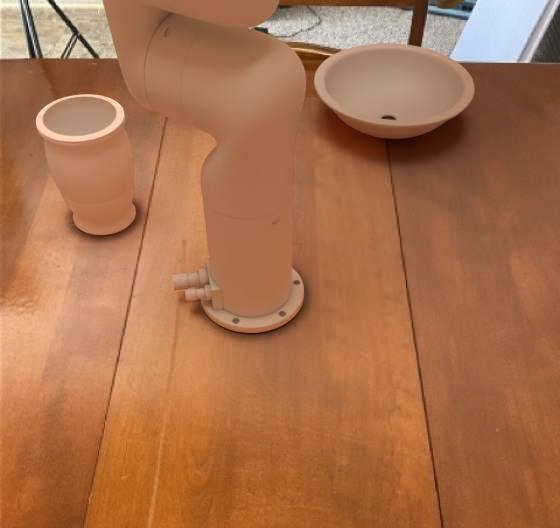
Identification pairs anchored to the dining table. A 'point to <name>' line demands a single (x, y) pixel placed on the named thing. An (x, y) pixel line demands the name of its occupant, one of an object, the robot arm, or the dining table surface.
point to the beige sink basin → (393, 88)
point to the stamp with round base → (448, 3)
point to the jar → (90, 160)
